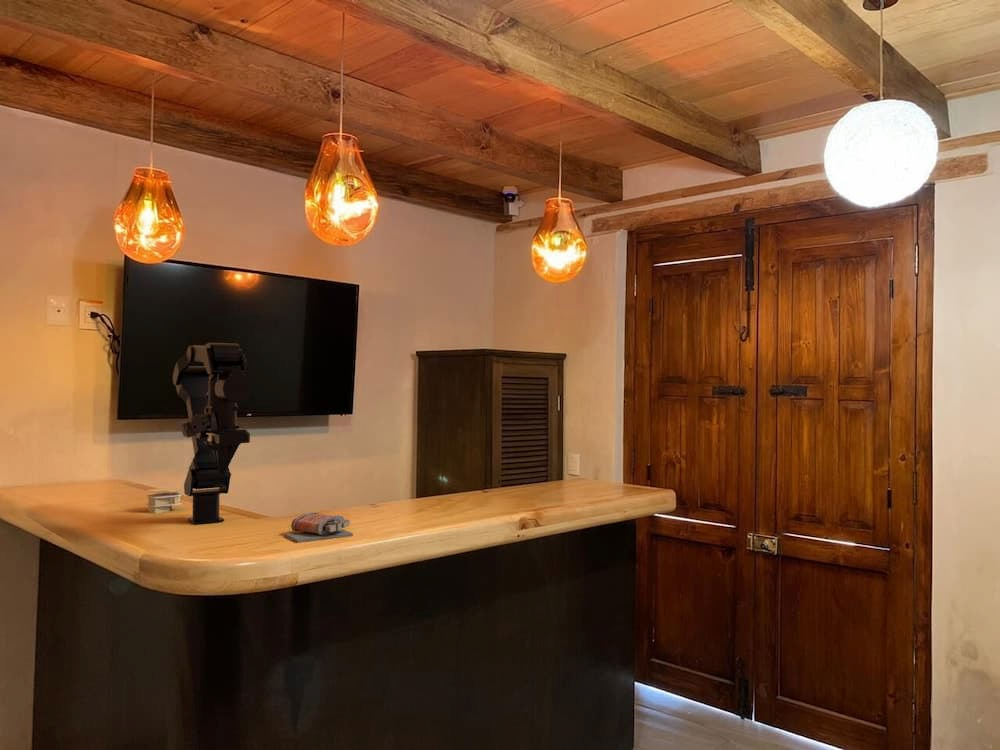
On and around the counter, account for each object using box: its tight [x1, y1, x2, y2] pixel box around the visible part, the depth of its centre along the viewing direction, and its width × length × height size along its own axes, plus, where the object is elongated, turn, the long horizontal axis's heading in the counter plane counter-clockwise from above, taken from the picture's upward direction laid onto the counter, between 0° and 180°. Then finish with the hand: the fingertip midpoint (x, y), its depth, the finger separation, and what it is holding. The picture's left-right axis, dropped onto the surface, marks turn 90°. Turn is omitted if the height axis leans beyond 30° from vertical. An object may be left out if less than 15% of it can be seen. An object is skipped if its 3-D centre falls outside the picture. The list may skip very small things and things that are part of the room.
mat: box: [284, 528, 354, 543], centre depth 156 cm, size 7×12×1 cm, turn 126°
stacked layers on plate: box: [146, 487, 183, 514], centre depth 183 cm, size 10×9×6 cm
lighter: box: [290, 511, 351, 535], centre depth 157 cm, size 8×3×10 cm
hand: (221, 474), depth 161 cm, fingers closed
